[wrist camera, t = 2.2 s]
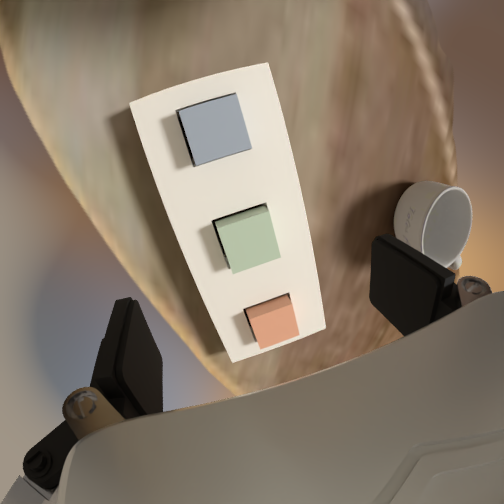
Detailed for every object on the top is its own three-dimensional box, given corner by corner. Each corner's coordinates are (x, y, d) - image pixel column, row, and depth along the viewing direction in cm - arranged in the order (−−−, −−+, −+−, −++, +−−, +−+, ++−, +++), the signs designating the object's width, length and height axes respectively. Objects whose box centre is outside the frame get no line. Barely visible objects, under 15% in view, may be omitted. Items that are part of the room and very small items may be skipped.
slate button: (233, 96, 24) (236, 93, 22) (247, 146, 26) (252, 148, 24) (179, 112, 23) (178, 110, 21) (195, 163, 25) (196, 165, 24)
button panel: (260, 68, 25) (267, 62, 23) (317, 315, 40) (325, 328, 37) (134, 105, 24) (129, 103, 22) (228, 347, 39) (232, 362, 36)
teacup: (373, 198, 34) (414, 218, 27) (427, 160, 34) (469, 172, 26) (398, 274, 40) (430, 302, 33) (444, 236, 40) (478, 257, 33)
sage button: (263, 205, 29) (269, 211, 27) (275, 249, 31) (281, 257, 29) (214, 221, 28) (216, 228, 26) (229, 265, 30) (232, 274, 29)
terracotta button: (286, 294, 33) (292, 303, 32) (294, 325, 36) (299, 334, 34) (245, 309, 33) (249, 319, 31) (256, 338, 35) (260, 349, 34)
